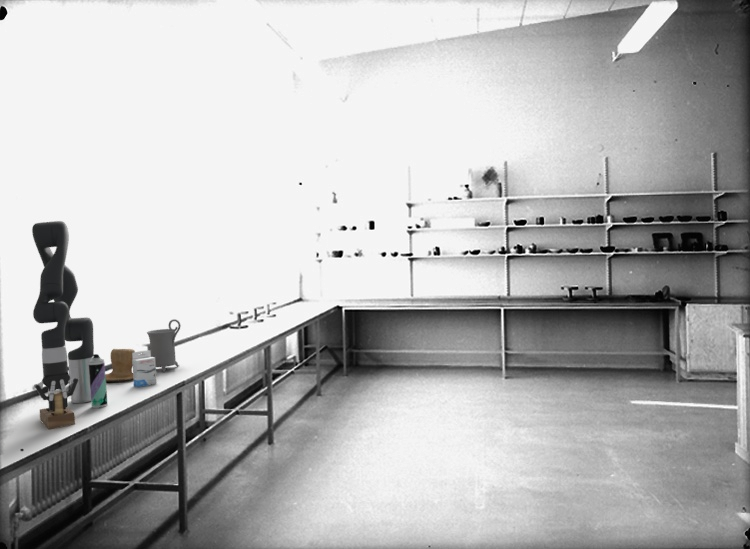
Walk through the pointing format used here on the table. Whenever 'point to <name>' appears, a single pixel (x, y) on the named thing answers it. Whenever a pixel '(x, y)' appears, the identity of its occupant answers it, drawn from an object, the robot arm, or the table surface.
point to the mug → (163, 345)
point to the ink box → (143, 368)
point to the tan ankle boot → (121, 365)
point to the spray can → (97, 382)
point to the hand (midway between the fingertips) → (58, 409)
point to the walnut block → (56, 418)
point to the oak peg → (58, 403)
